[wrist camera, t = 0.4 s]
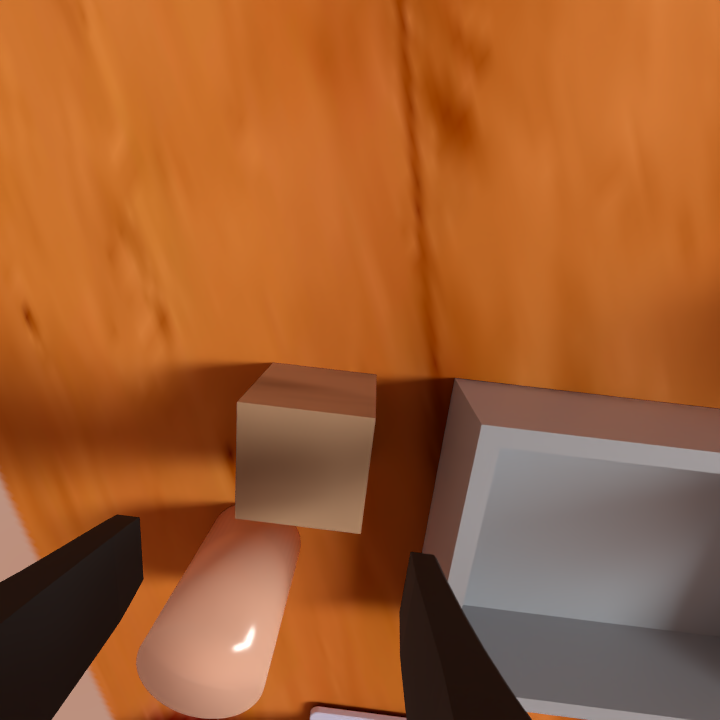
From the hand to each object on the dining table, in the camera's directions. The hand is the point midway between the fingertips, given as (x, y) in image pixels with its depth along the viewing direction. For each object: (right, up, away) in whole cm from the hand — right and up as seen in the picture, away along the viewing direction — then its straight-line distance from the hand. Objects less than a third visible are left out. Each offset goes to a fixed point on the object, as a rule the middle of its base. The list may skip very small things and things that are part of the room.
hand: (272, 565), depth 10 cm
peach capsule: (-3, -5, +11) cm, 13 cm away
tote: (+15, -3, +10) cm, 18 cm away
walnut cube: (0, +3, +9) cm, 10 cm away
